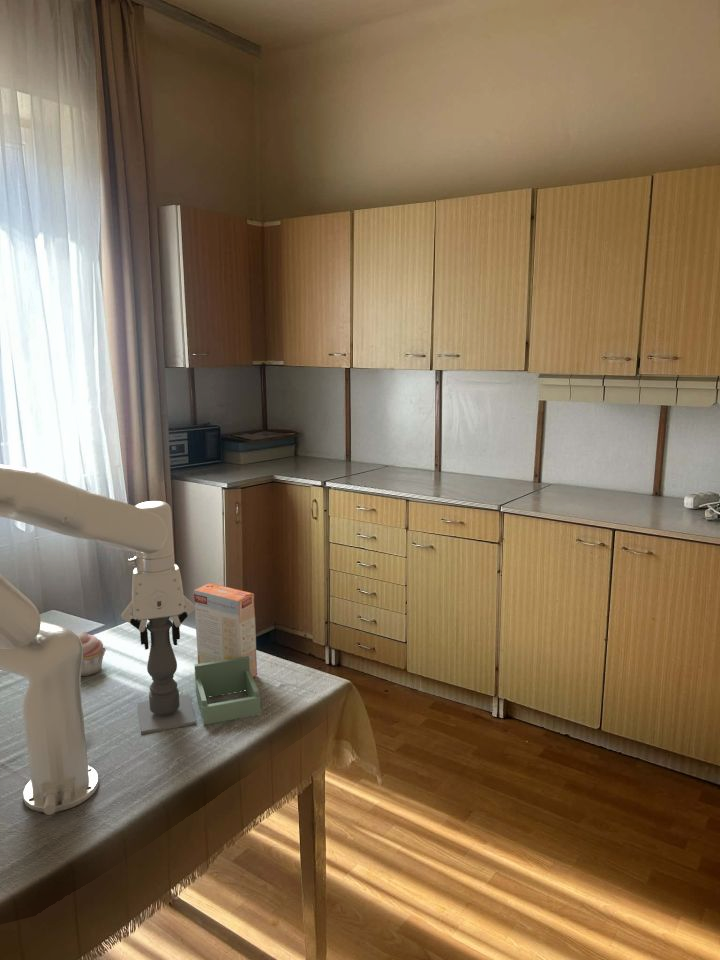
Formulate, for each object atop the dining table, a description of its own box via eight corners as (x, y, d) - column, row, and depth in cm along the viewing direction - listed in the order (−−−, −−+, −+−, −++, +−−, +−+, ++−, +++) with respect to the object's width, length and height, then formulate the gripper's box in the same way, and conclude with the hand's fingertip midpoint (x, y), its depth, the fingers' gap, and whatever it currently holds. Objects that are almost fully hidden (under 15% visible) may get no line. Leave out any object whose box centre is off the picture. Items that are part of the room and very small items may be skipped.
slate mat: (195, 724, 153) (195, 721, 153) (141, 734, 149) (140, 731, 149) (189, 696, 164) (188, 694, 164) (137, 705, 160) (137, 702, 160)
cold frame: (260, 714, 156) (259, 680, 154) (203, 725, 152) (201, 690, 150) (249, 688, 167) (248, 656, 165) (196, 697, 163) (194, 664, 162)
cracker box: (258, 675, 173) (255, 592, 168) (241, 686, 168) (237, 601, 163) (214, 661, 180) (210, 581, 176) (197, 671, 175) (192, 588, 171)
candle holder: (185, 706, 156) (179, 596, 151) (160, 717, 152) (152, 604, 146) (169, 696, 160) (162, 588, 155) (144, 707, 156) (136, 596, 150)
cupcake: (116, 668, 177) (113, 629, 175) (82, 683, 170) (78, 643, 167) (92, 657, 182) (89, 620, 180) (58, 672, 175) (54, 633, 173)
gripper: (111, 572, 143) (118, 658, 146) (200, 563, 148) (204, 646, 152) (110, 561, 149) (117, 643, 153) (195, 552, 155) (199, 631, 159)
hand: (160, 643), depth 153 cm, fingers closed on candle holder, 5 cm apart
